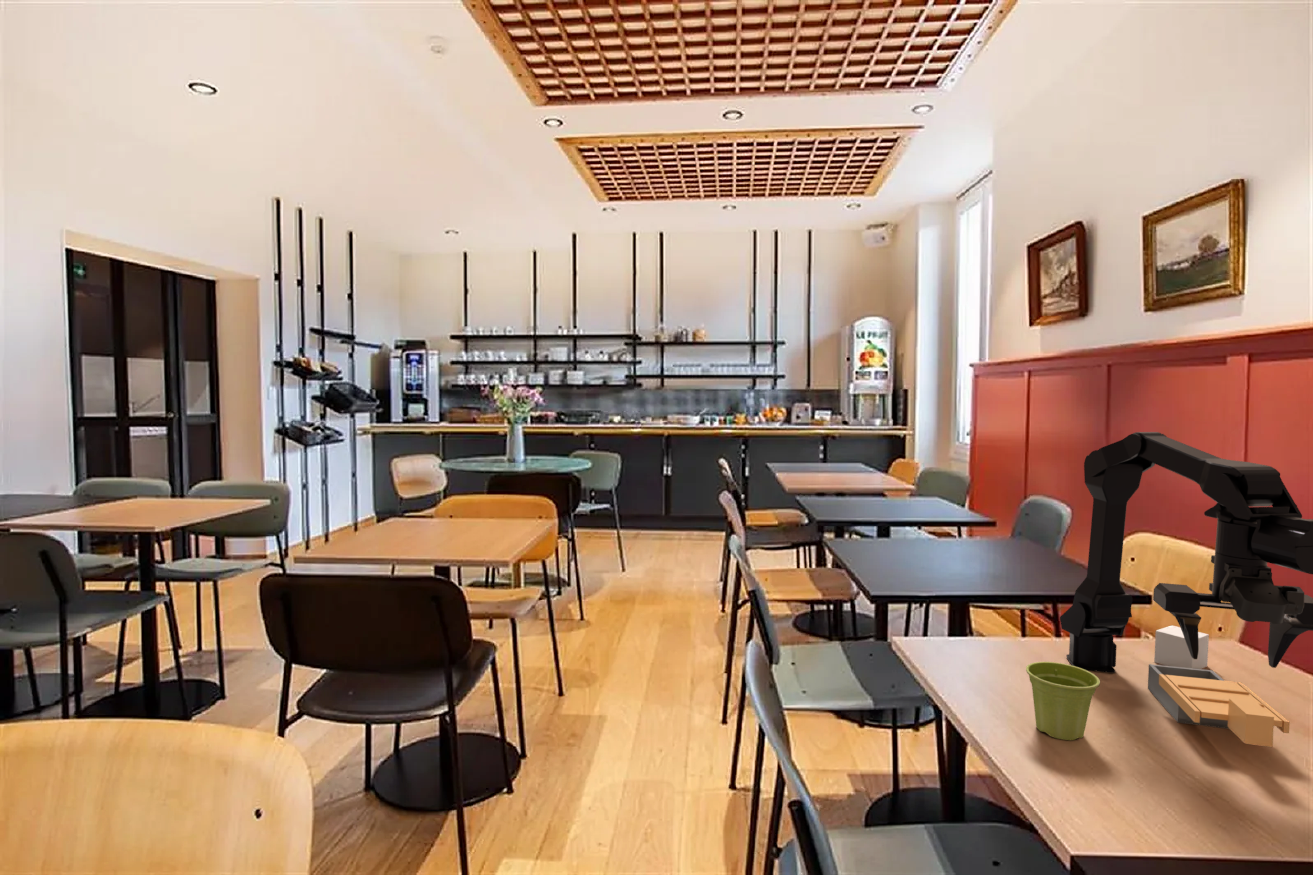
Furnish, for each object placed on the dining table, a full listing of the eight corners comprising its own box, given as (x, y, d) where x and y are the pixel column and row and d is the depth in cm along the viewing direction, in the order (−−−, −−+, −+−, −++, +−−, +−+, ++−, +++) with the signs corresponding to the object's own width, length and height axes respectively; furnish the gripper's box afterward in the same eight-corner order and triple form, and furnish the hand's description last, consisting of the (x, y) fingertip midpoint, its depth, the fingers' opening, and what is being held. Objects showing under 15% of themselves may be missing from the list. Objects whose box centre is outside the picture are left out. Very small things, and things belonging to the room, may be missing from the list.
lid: (1209, 739, 95) (1210, 709, 95) (1158, 684, 113) (1159, 659, 112) (1309, 751, 92) (1311, 721, 91) (1240, 693, 109) (1242, 667, 109)
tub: (1177, 722, 108) (1178, 695, 107) (1147, 688, 120) (1148, 664, 120) (1249, 731, 105) (1251, 703, 105) (1211, 695, 117) (1212, 670, 117)
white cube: (1154, 662, 132) (1155, 630, 131) (1170, 656, 135) (1171, 625, 135) (1191, 673, 127) (1193, 640, 126) (1207, 666, 130) (1209, 634, 129)
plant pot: (1088, 722, 108) (1090, 665, 107) (1105, 751, 99) (1107, 690, 98) (1019, 713, 111) (1021, 658, 110) (1029, 741, 102) (1031, 681, 101)
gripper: (1184, 563, 95) (1176, 676, 96) (1360, 576, 89) (1349, 696, 91) (1155, 544, 106) (1148, 646, 107) (1311, 554, 100) (1302, 662, 101)
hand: (1232, 662), depth 101 cm, fingers open, 9 cm apart
